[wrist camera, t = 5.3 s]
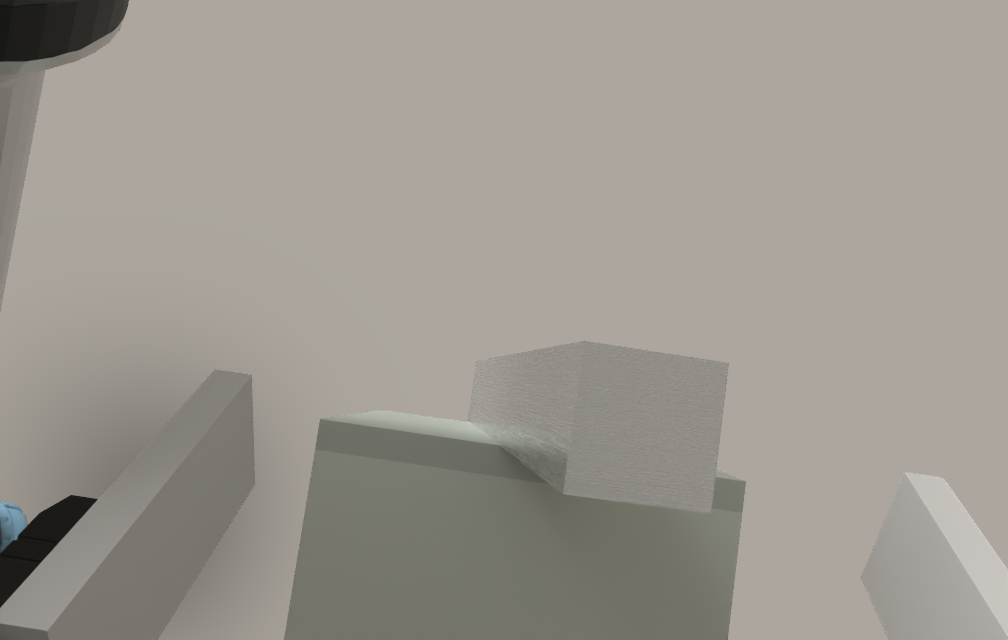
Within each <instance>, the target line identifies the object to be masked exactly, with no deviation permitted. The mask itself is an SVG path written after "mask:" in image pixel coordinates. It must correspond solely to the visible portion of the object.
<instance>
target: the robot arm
mask: <svg viewBox="0 0 1008 640" xmlns="http://www.w3.org/2000/svg"><path fill="white" fill-rule="evenodd" d="M128 1H129V0H0V310H1V304H2V299H3V293H4V288H5V283H6V277H7V272H8V266H9V261H10V256H11V250H12V245H13V239H14V234H15V229H16V223H17V218H18V213H19V208H20V202H21V197H22V191H23V186H24V181H25V175H26V170H27V165H28V159H29V154H30V149H31V143H32V138H33V132H34V127H35V122H36V116H37V111H38V106H39V100H40V95H41V89H42V84H43V79H44V73H45V70H47V69H51V68H54V67H57V66H60V65H64V64H67V63H71V62H75V61H77V60H80V59H82V58H84V57H86V56H88V55H90V54H92V53H95V52H96V51H98V50H99V49H100V48H102V47H103V46H105V45H106V44H108V43H109V42H110V41H111V40H112V39H113V37H114V36H115V35H116V34H117V32H118V31H119V30H120V27H121V24H122V22H123V19H124V16H125V13H126V10H127V7H128ZM252 402H253V401H252V375H248V374H241V373H234V372H227V371H220V370H214V371H213V372H212V373H211V375H210V376H209V377H208V378H207V379H206V380H205V381H204V382H203V383H202V384H201V386H200V387H199V388H198V389H197V390H196V391H195V392H194V394H192V396H191V397H190V398H189V399H188V400H187V401H186V402H185V403H184V404H183V406H182V407H181V408H180V409H179V410H178V411H177V412H176V413H175V414H174V416H173V417H172V418H171V419H170V420H169V421H168V422H167V423H166V425H165V426H164V427H163V428H162V429H161V430H160V431H159V432H158V433H157V434H156V436H155V437H154V438H153V439H152V440H151V441H150V442H149V443H148V445H147V446H146V447H145V448H144V449H143V450H142V451H141V452H140V453H139V455H138V456H137V457H136V458H135V459H134V460H133V461H132V462H131V463H130V464H129V466H128V467H127V468H126V469H125V470H124V471H123V472H122V473H121V474H120V476H119V477H118V478H117V479H116V480H115V481H114V482H113V483H112V484H111V486H110V487H109V488H108V489H107V490H106V491H105V492H104V493H103V494H102V496H101V497H100V498H99V499H93V498H87V497H80V496H74V495H70V496H69V497H67V498H65V499H63V500H62V501H60V502H58V503H57V504H55V505H53V506H51V507H49V508H48V509H46V510H44V511H42V512H41V513H39V514H38V515H37V516H36V517H35V518H34V519H33V520H32V521H31V523H30V524H29V525H28V522H27V518H26V516H25V514H23V512H22V510H21V509H20V508H19V507H18V506H16V505H15V504H12V503H7V502H0V640H158V639H159V637H160V636H161V634H162V632H163V631H164V629H165V627H166V626H167V624H168V623H169V621H170V620H171V618H172V616H173V615H174V613H175V612H176V610H177V608H178V607H179V605H180V603H181V602H182V600H183V599H184V597H185V595H186V594H187V592H188V591H189V589H190V588H191V586H192V584H193V583H194V581H195V580H196V578H197V576H198V575H199V573H200V572H201V570H202V568H203V567H204V565H205V564H206V562H207V561H208V559H209V557H210V556H211V554H212V552H213V551H214V549H215V548H216V546H217V545H218V543H219V541H220V540H221V538H222V536H223V535H224V533H225V532H226V530H227V528H228V527H229V525H230V524H231V522H232V521H233V519H234V517H235V516H236V514H237V513H238V511H239V509H240V508H241V506H242V505H243V503H244V501H245V500H246V498H247V497H248V495H249V493H250V492H251V490H252V488H253V487H254V485H255V470H254V439H253V438H254V436H253V405H252V404H253V403H252ZM861 579H862V582H863V584H864V586H865V588H866V590H867V593H868V595H869V597H870V599H871V601H872V604H873V606H874V608H875V611H876V613H877V615H878V617H879V619H880V622H881V624H882V626H883V628H884V630H885V633H886V635H887V637H888V639H889V640H1008V569H1007V568H1006V567H1005V565H1004V564H1003V562H1002V561H1001V559H1000V558H999V557H998V555H997V554H996V552H995V551H994V549H993V548H992V547H991V545H990V544H989V542H988V541H987V539H986V538H985V537H984V535H983V534H982V532H981V531H980V529H979V528H978V526H977V525H976V524H975V522H974V521H973V520H972V518H971V516H970V515H969V514H968V512H967V511H966V509H965V508H964V506H963V505H962V503H961V502H960V501H959V500H958V498H957V496H956V495H955V493H954V492H953V491H952V489H951V488H950V486H949V485H948V483H947V482H946V480H945V479H944V478H942V477H936V476H929V475H922V474H915V473H909V472H904V474H903V476H902V479H901V481H900V483H899V486H898V488H897V491H896V493H895V496H894V498H893V500H892V503H891V505H890V508H889V510H888V513H887V515H886V517H885V520H884V522H883V525H882V527H881V530H880V532H879V535H878V537H877V539H876V542H875V545H874V547H873V549H872V552H871V554H870V556H869V559H868V561H867V564H866V566H865V569H864V571H863V573H862V576H861Z"/></svg>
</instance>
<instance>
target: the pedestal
mask: <svg viewBox="0 0 1008 640" xmlns="http://www.w3.org/2000/svg"><path fill="white" fill-rule="evenodd" d="M745 485H746V482H745V481H743V480H741V479H738V478H736V477H733V476H731V475H728V474H726V473H723V472H721V471H718V470H716V475H715V484H714V492H713V500H712V509H711V514H709V513H702V512H694V511H686V510H679V509H671V508H663V507H656V506H648V505H640V504H632V503H625V502H617V501H609V500H602V499H594V498H586V497H579V496H571V495H563V494H562V493H560V492H559V491H558V490H557V489H555V488H554V487H553V486H551V485H550V484H549V483H548V482H546V481H545V480H544V479H542V478H541V477H540V476H539V475H537V474H536V473H535V472H533V471H532V470H531V469H530V468H528V467H527V466H526V465H524V464H523V463H522V462H520V461H519V460H518V459H517V458H515V457H514V456H513V455H511V454H510V453H509V452H508V451H506V450H505V449H504V448H502V447H501V446H500V445H499V444H497V443H496V442H495V441H493V440H492V439H491V438H489V437H488V436H487V435H486V434H484V433H483V432H482V431H480V430H479V429H478V428H477V427H475V426H474V425H473V424H471V423H470V422H463V421H456V420H449V419H443V418H436V417H428V416H422V415H414V414H408V413H401V412H395V411H387V410H379V411H372V412H365V413H358V414H351V415H344V416H338V417H331V418H324V419H320V423H319V429H318V435H317V442H316V448H315V454H314V460H313V466H312V472H311V478H310V484H309V490H308V496H307V503H306V509H305V515H304V521H303V528H302V533H301V539H300V545H299V551H298V558H297V564H296V570H295V577H294V582H293V588H292V595H291V600H290V606H289V613H288V619H287V625H286V631H285V637H284V640H728V631H729V624H730V615H731V606H732V598H733V589H734V580H735V571H736V563H737V554H738V545H739V537H740V528H741V519H742V511H743V501H744V493H745Z"/></svg>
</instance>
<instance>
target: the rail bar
mask: <svg viewBox="0 0 1008 640" xmlns="http://www.w3.org/2000/svg"><path fill="white" fill-rule="evenodd" d="M728 364H729V363H724V362H717V361H710V360H704V359H698V358H692V357H685V356H678V355H671V354H664V353H659V352H652V351H646V350H639V349H632V348H626V347H620V346H613V345H607V344H600V343H594V342H587V341H581V342H576V343H571V344H565V345H560V346H555V347H549V348H544V349H539V350H534V351H528V352H523V353H518V354H512V355H507V356H502V357H497V358H491V359H486V360H481V361H477V362H476V369H475V376H474V383H473V389H472V396H471V403H470V410H469V417H468V421H469V422H470V423H471V424H473V425H474V426H475V427H477V428H478V429H479V430H480V431H482V432H483V433H484V434H486V435H487V436H488V437H489V438H491V439H492V440H493V441H495V442H496V443H497V444H499V445H500V446H501V447H502V448H504V449H505V450H506V451H508V452H509V453H510V454H511V455H513V456H514V457H515V458H517V459H518V460H519V461H520V462H522V463H523V464H524V465H526V466H527V467H528V468H530V469H531V470H532V471H533V472H535V473H536V474H537V475H539V476H540V477H541V478H542V479H544V480H545V481H546V482H548V483H549V484H550V485H551V486H553V487H554V488H555V489H557V490H558V491H559V492H560V493H562V494H563V495H571V496H579V497H586V498H594V499H602V500H609V501H617V502H625V503H632V504H640V505H648V506H656V507H663V508H671V509H679V510H686V511H694V512H702V513H709V514H711V509H712V500H713V492H714V484H715V475H716V467H717V458H718V449H719V441H720V433H721V425H722V416H723V407H724V399H725V391H726V382H727V373H728V366H729V365H728Z"/></svg>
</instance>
